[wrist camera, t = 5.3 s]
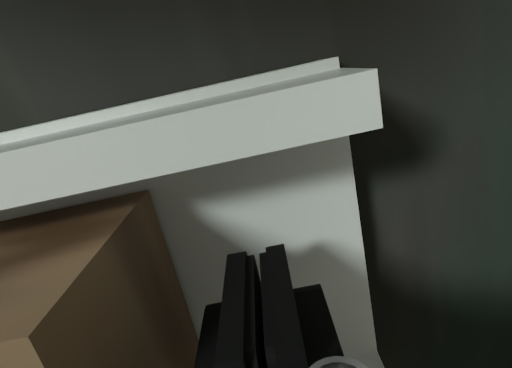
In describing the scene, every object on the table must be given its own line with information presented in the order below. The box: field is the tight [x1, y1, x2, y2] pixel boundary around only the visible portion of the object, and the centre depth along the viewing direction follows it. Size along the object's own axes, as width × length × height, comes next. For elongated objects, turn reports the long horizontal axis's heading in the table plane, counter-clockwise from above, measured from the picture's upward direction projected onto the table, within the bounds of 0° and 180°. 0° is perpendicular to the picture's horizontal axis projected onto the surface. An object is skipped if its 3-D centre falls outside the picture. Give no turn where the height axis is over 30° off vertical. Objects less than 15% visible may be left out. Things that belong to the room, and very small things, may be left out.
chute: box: [0, 57, 384, 368], centre depth 11 cm, size 20×12×4 cm, turn 102°
